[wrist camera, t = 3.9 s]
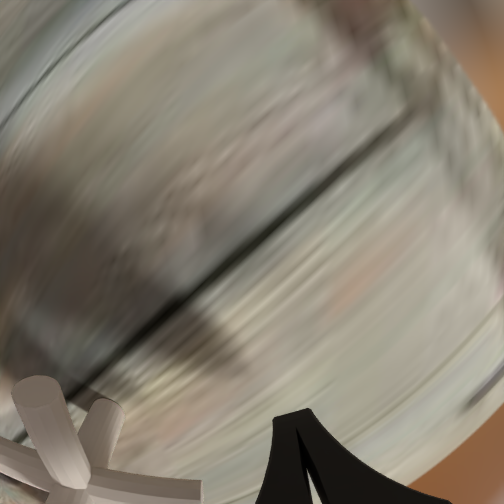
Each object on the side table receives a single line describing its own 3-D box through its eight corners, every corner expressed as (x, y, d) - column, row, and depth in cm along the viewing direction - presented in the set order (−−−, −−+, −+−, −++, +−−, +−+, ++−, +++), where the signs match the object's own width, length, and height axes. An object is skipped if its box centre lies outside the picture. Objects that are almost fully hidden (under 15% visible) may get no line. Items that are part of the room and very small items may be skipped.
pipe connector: (56, 453, 14) (6, 567, 4) (8, 314, 12) (-123, 423, 2) (208, 477, 15) (211, 623, 5) (202, 333, 13) (180, 575, 3)
